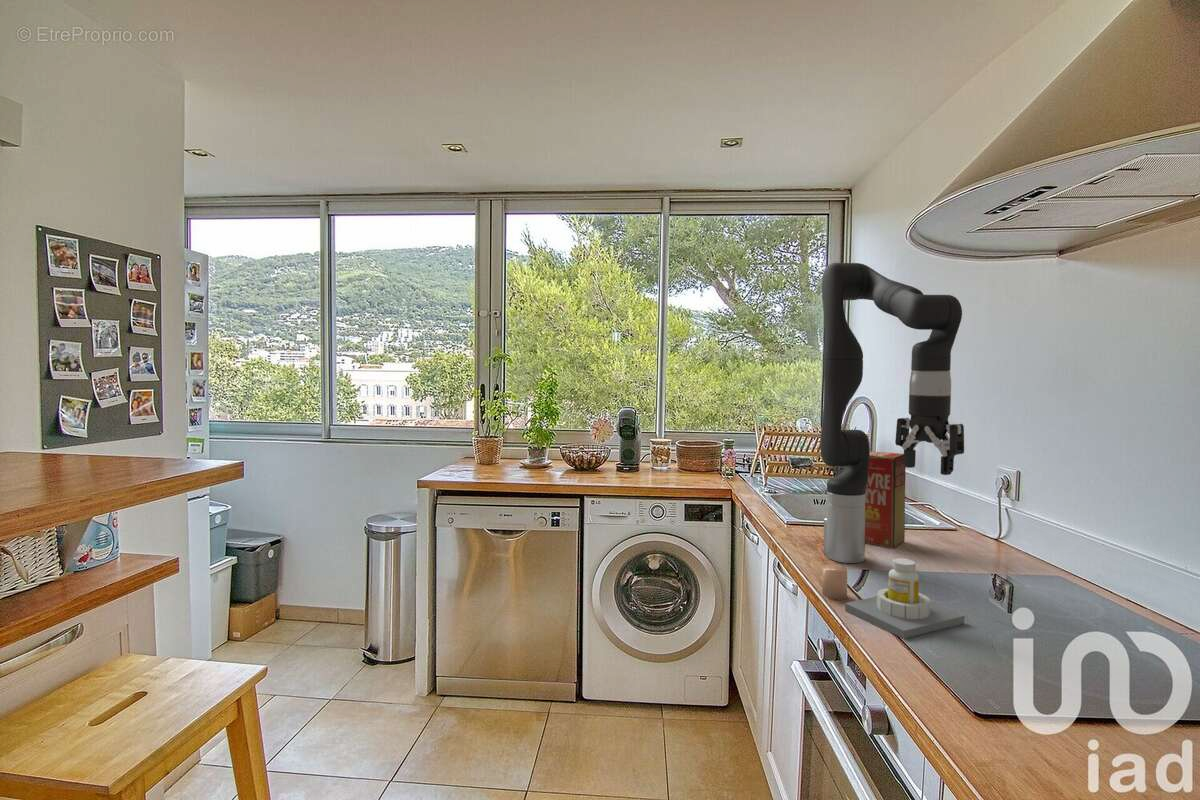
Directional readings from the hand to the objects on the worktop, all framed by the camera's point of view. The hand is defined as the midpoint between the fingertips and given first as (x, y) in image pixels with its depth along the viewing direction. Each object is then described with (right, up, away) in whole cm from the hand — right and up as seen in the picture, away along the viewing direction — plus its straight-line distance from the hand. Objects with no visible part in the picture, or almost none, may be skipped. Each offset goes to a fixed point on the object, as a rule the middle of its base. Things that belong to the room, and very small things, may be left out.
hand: (927, 470), depth 123 cm
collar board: (-8, -28, -6) cm, 30 cm away
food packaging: (+10, -25, +45) cm, 53 cm away
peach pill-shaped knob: (-17, -28, +6) cm, 33 cm away
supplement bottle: (-8, -27, -6) cm, 29 cm away
